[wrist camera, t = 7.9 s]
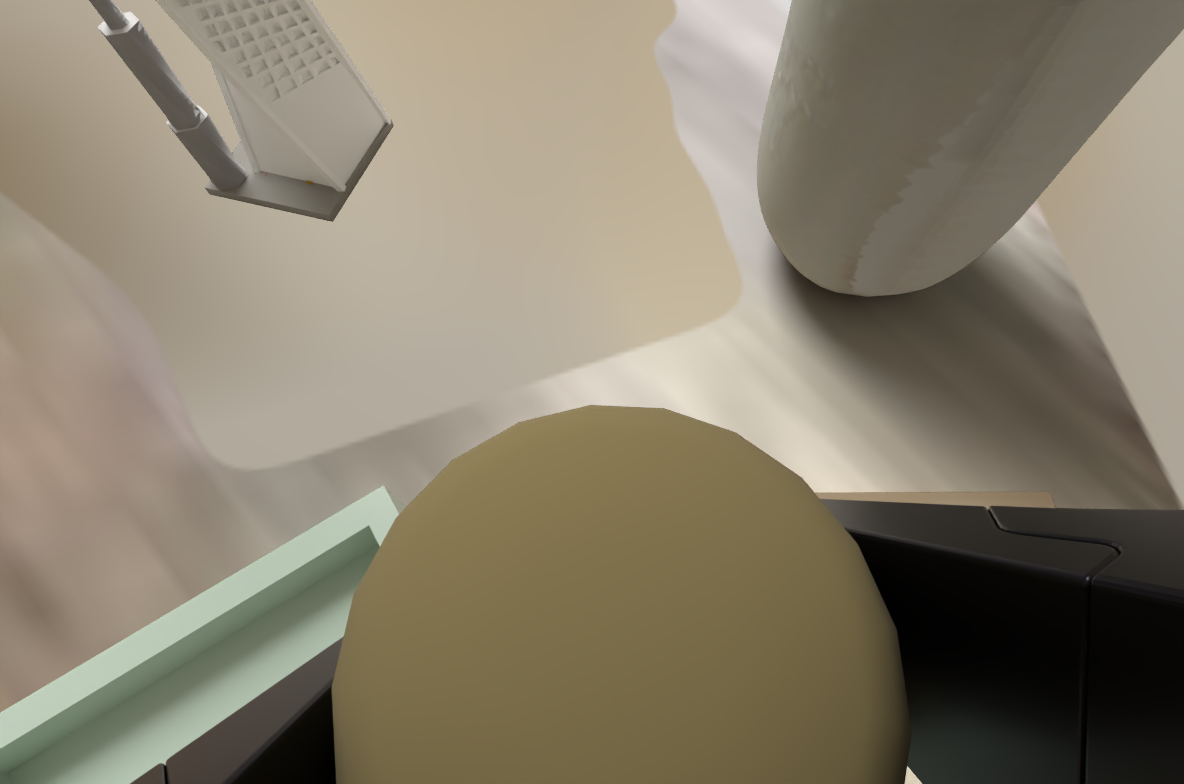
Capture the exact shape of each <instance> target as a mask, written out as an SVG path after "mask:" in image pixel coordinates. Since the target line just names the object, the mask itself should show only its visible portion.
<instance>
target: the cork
mask: <svg viewBox="0 0 1184 784" xmlns="http://www.w3.org/2000/svg"><path fill="white" fill-rule="evenodd" d="M332 705H333V726H334V747H335V768H336V784H904V783H905V776H906V769H907V762H908V755H909V748H910V741H911V735H912V727H911V720H910V713H909V707H908V700H907V694H906V687H905V680H904V674H903V667H902V661H901V654H900V647H899V641H898V634H897V629H896V627H895V625H894V623H893V620H892V618H891V616H890V614H889V612H888V609H887V607H886V605H885V603H884V601H883V598H882V596H881V594H880V592H879V590H878V588H877V585H876V583H875V581H874V579H873V577H872V574H871V572H870V570H869V568H868V566H867V563H866V561H865V559H864V557H863V555H862V552H861V550H860V548H859V546H858V544H857V543H856V542H855V540H854V539H853V538H852V537H851V536H850V534H849V533H848V532H847V531H846V530H845V528H844V527H843V526H842V525H841V524H840V523H839V521H838V520H837V519H836V518H835V517H834V515H833V514H832V513H831V512H830V511H829V509H828V508H827V507H826V506H825V505H824V503H823V502H822V501H821V500H820V499H819V498H818V496H817V495H816V494H815V493H814V492H813V490H812V489H811V488H810V487H809V486H808V484H807V483H806V482H805V481H804V480H803V479H802V478H801V477H800V476H798V475H797V474H795V473H794V472H793V471H791V470H790V469H788V468H787V467H785V466H784V465H782V464H781V463H779V462H778V461H777V460H775V459H774V458H772V457H771V456H769V455H768V454H766V453H765V452H763V451H762V450H760V449H759V448H758V447H756V446H755V445H753V444H752V443H750V442H749V441H747V440H746V439H744V438H743V437H741V436H740V435H739V434H737V433H735V432H732V431H729V430H726V429H723V428H721V427H718V426H715V425H712V424H709V423H706V422H703V421H700V420H697V419H694V418H691V417H688V416H685V415H682V414H679V413H676V412H673V411H670V410H667V409H664V408H642V407H620V406H597V405H589V406H585V407H581V408H577V409H573V410H568V411H564V412H560V413H556V414H552V415H548V416H544V417H540V418H535V419H531V420H527V421H523V422H519V423H517V424H515V425H514V426H512V427H510V428H508V429H507V430H505V431H503V432H501V433H499V434H498V435H496V436H494V437H492V438H491V439H489V440H487V441H485V442H484V443H482V444H480V445H478V446H477V447H475V448H473V449H471V450H470V451H468V452H466V453H464V454H463V455H461V456H459V457H457V458H456V459H454V460H452V461H451V462H450V463H449V464H448V465H447V466H446V467H445V468H444V469H443V470H442V471H441V472H440V473H439V474H438V476H437V477H436V478H435V479H434V480H433V481H432V482H431V483H430V484H429V485H428V486H427V487H426V488H425V489H424V490H423V491H422V492H421V493H420V494H419V495H418V496H417V497H416V498H415V499H414V500H413V501H412V502H411V503H410V504H409V505H408V506H407V507H406V508H405V509H404V510H403V511H402V512H401V513H400V514H399V515H398V516H397V517H396V518H395V520H394V522H393V524H392V526H391V527H390V529H389V531H388V533H387V535H386V537H385V538H384V540H383V542H382V544H381V546H380V547H379V549H378V551H377V553H376V555H375V556H374V558H373V560H372V562H371V564H370V566H369V567H368V569H367V571H366V573H365V575H364V576H363V578H362V580H361V582H360V584H359V585H358V587H357V589H356V591H355V593H354V594H353V599H352V603H351V607H350V611H349V616H348V620H347V624H346V628H345V633H344V637H343V641H342V645H341V650H340V654H339V658H338V662H337V666H336V671H335V675H334V679H333V683H332Z"/></svg>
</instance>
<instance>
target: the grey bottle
mask: <svg viewBox="0 0 1184 784" xmlns="http://www.w3.org/2000/svg"><path fill="white" fill-rule="evenodd" d="M1183 29H1184V0H792V2H791V7H790V11H789V16H788V20H787V24H786V29H785V33H784V37H783V41H782V45H781V49H780V53H779V57H778V61H777V65H776V69H775V72H774V76H773V81H772V85H771V88H770V93H769V97H768V101H767V105H766V110H765V114H764V118H763V124H762V129H761V135H760V141H759V149H758V161H757V186H758V196H759V202H760V206H761V211H762V214H763V218H764V220H765V223H766V225H767V228H768V230H769V232H770V234H771V236H772V237H773V239H774V241H775V243H776V244H777V246H778V247H779V249H780V250H781V251H782V253H783V254H784V255H785V257H786V258H787V259H788V261H789V262H790V263H791V264H792V265H793V266H794V267H795V268H796V269H797V270H798V271H799V272H800V273H801V274H802V275H804V276H805V277H806V278H808V279H809V280H811V281H812V282H814V283H815V284H817V285H819V286H820V287H823V288H825V289H828V290H831V291H834V292H837V293H844V294H851V295H859V296H866V297H869V296H884V295H894V294H903V293H908V292H913V291H918V290H921V289H925V288H928V287H930V286H932V285H934V284H936V283H938V282H941V281H943V280H945V279H946V278H948V277H950V276H951V275H953V274H955V273H956V272H958V271H959V270H961V269H963V268H964V267H965V266H967V265H968V264H970V263H971V262H972V261H974V260H975V259H976V258H978V257H979V256H980V255H981V254H983V253H984V252H985V251H986V250H988V249H989V248H990V247H991V246H992V245H993V244H994V243H996V242H997V241H998V240H999V239H1000V238H1001V237H1002V236H1003V235H1004V234H1005V233H1006V232H1007V231H1008V230H1009V229H1011V228H1012V226H1013V225H1014V224H1015V223H1016V222H1017V221H1018V220H1019V219H1020V218H1021V217H1022V216H1023V215H1024V214H1025V212H1026V211H1027V210H1028V209H1029V208H1030V206H1031V205H1032V204H1033V203H1034V202H1035V201H1036V199H1037V198H1038V197H1039V196H1040V195H1041V193H1042V192H1043V191H1044V190H1045V189H1046V188H1047V187H1048V185H1049V184H1050V183H1051V182H1052V181H1053V180H1054V178H1055V177H1056V176H1057V174H1059V172H1060V171H1061V170H1062V169H1063V168H1064V166H1066V164H1067V163H1068V162H1069V161H1070V160H1071V158H1072V157H1073V156H1074V155H1075V154H1076V153H1077V151H1078V150H1079V149H1080V148H1081V147H1082V145H1083V144H1084V143H1085V142H1086V141H1087V139H1088V138H1089V137H1090V136H1091V135H1092V134H1093V133H1094V131H1095V130H1096V129H1097V128H1098V127H1099V125H1100V124H1101V123H1102V122H1103V121H1104V120H1105V119H1106V117H1107V116H1108V115H1109V114H1110V113H1111V112H1112V110H1113V109H1114V108H1115V107H1116V106H1117V105H1118V103H1119V102H1120V101H1121V100H1122V99H1123V97H1124V96H1125V95H1126V94H1127V93H1128V91H1130V89H1131V88H1132V87H1133V86H1134V85H1135V83H1136V82H1137V81H1138V80H1139V79H1140V78H1141V76H1142V75H1143V74H1144V73H1145V72H1146V71H1147V69H1149V67H1150V66H1151V65H1152V64H1153V63H1154V62H1155V61H1156V59H1157V58H1158V57H1159V56H1160V55H1161V54H1162V53H1163V52H1164V50H1165V49H1166V48H1167V47H1168V46H1169V45H1170V44H1171V43H1172V42H1173V41H1174V39H1175V38H1176V37H1177V36H1178V35H1179V34H1180V32H1181V31H1182V30H1183Z"/></svg>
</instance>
